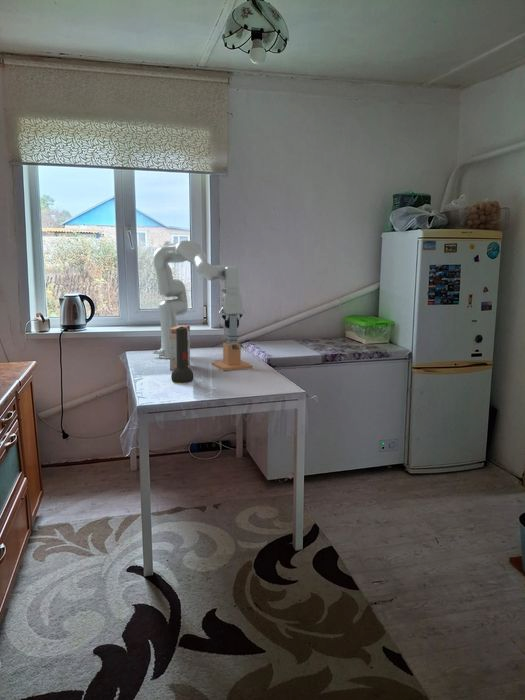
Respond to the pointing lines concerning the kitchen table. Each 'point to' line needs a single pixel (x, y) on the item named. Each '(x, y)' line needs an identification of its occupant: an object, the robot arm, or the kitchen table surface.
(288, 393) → the kitchen table surface
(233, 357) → the stand
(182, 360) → the flashlight
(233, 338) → the steel column
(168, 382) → the kitchen table surface
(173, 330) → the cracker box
